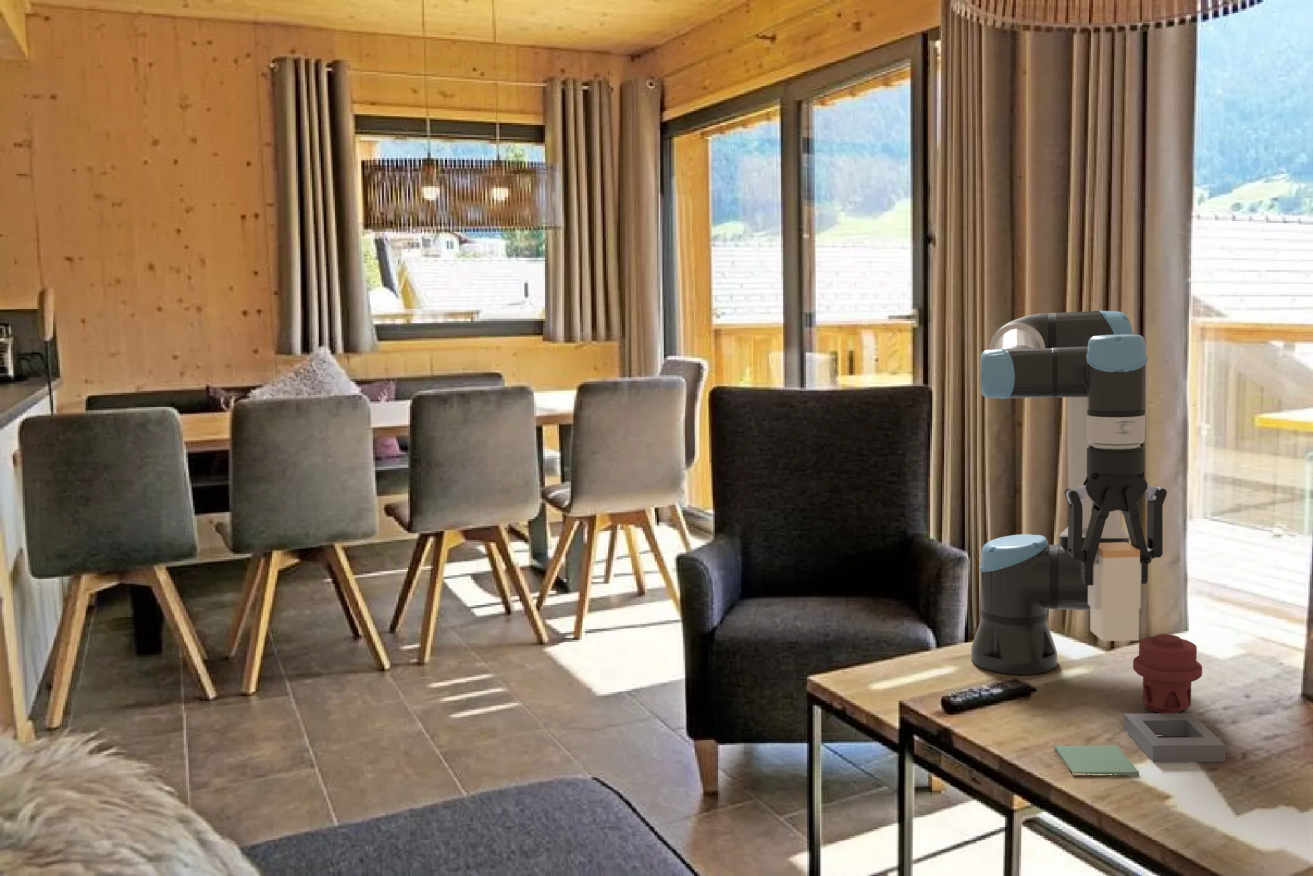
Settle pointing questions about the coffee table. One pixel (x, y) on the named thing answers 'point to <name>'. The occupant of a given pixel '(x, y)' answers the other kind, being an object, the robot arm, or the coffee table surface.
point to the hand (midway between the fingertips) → (1114, 606)
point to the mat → (1096, 760)
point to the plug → (1117, 593)
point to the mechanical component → (1167, 672)
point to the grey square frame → (1190, 749)
